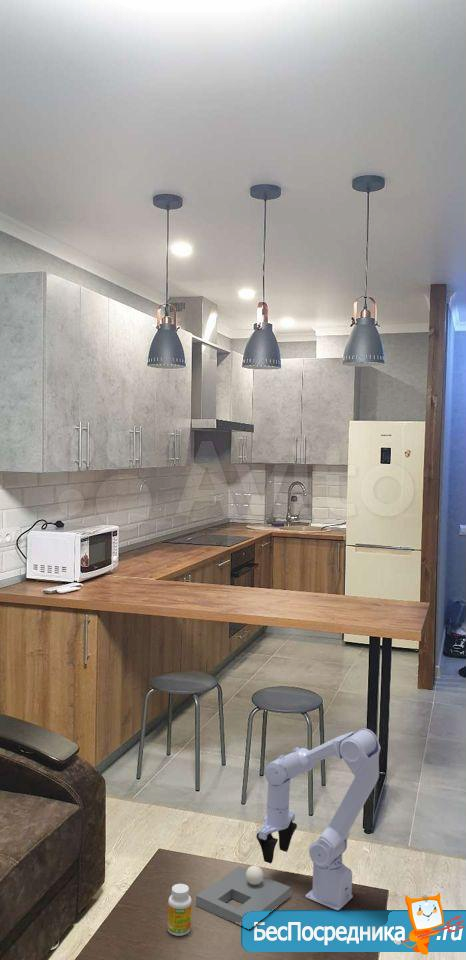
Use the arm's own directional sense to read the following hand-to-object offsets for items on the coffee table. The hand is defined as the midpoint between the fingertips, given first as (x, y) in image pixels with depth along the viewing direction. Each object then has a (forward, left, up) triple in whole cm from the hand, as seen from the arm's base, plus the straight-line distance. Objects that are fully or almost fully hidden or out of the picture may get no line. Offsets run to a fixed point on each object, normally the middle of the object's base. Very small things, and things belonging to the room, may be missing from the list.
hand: (275, 856), depth 204 cm
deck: (0, +14, -6) cm, 16 cm away
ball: (0, +10, -1) cm, 10 cm away
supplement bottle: (+5, +33, -6) cm, 34 cm away
